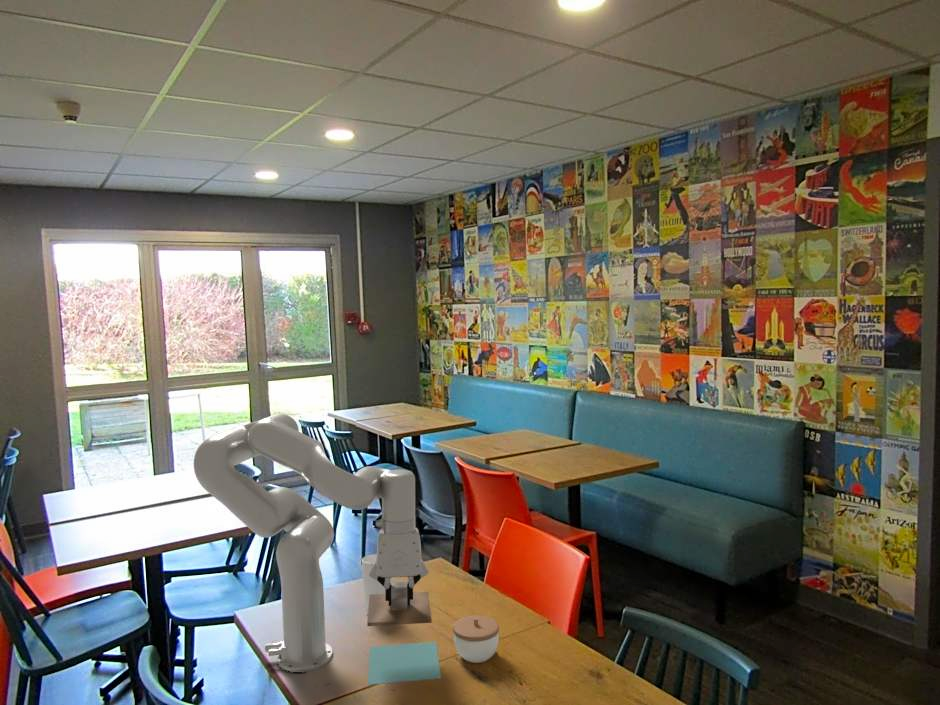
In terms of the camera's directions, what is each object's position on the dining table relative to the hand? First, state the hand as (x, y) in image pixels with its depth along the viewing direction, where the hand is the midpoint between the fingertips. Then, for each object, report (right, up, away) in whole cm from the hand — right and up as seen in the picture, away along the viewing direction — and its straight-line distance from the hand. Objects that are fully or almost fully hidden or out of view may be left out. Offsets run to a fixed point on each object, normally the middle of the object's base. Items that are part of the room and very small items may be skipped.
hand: (399, 602), depth 149 cm
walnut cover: (0, -2, 0) cm, 2 cm away
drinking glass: (-9, -13, +27) cm, 31 cm away
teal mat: (+1, -15, +1) cm, 15 cm away
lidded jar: (+18, -14, +3) cm, 23 cm away
